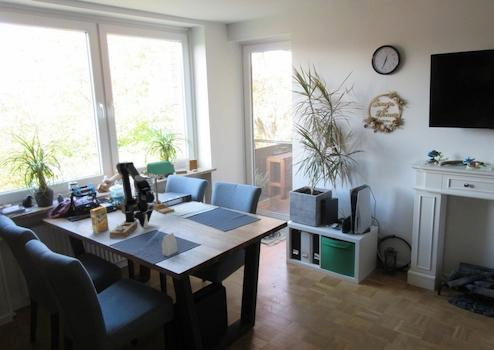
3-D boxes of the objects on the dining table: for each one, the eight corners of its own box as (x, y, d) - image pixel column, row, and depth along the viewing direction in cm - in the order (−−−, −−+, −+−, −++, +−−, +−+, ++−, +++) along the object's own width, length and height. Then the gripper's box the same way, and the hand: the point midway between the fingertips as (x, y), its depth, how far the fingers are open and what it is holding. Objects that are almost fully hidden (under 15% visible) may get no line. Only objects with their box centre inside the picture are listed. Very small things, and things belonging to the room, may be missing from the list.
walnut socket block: (123, 228, 242) (122, 222, 241) (137, 228, 241) (136, 222, 240) (110, 239, 224) (109, 232, 224) (125, 239, 223) (124, 232, 223)
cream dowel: (144, 227, 242) (142, 214, 240) (148, 227, 242) (147, 214, 240) (142, 229, 239) (141, 215, 237) (147, 229, 239) (145, 215, 237)
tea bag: (177, 251, 202) (175, 233, 200) (167, 256, 197) (166, 237, 195) (172, 250, 204) (170, 232, 202) (162, 254, 199) (161, 236, 197)
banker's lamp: (165, 205, 292) (161, 159, 285) (179, 210, 276) (176, 162, 270) (146, 209, 283) (141, 162, 276) (159, 215, 267) (155, 165, 260)
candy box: (97, 235, 232) (94, 210, 229) (92, 234, 235) (89, 209, 232) (109, 230, 240) (106, 206, 237) (104, 229, 242) (101, 205, 239)
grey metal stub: (119, 233, 230) (118, 224, 228) (124, 233, 229) (123, 224, 228) (117, 235, 227) (116, 225, 226) (122, 235, 226) (121, 225, 225)
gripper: (136, 196, 247) (138, 220, 250) (123, 204, 229) (126, 229, 232) (153, 196, 246) (155, 219, 249) (142, 204, 227) (144, 229, 230)
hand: (145, 224), depth 240 cm, fingers open, 9 cm apart
